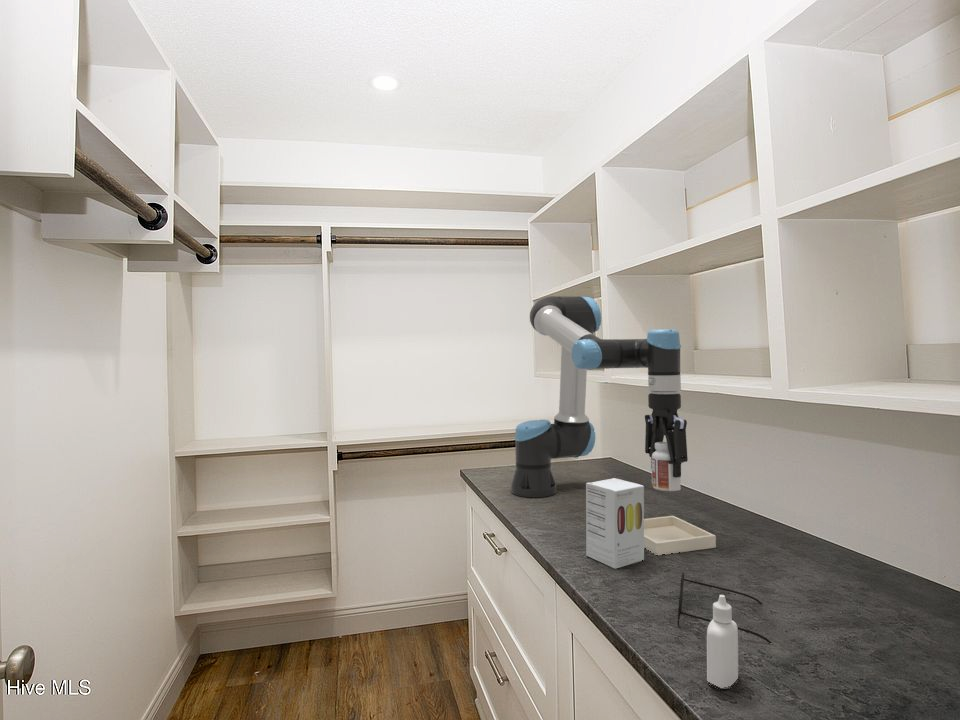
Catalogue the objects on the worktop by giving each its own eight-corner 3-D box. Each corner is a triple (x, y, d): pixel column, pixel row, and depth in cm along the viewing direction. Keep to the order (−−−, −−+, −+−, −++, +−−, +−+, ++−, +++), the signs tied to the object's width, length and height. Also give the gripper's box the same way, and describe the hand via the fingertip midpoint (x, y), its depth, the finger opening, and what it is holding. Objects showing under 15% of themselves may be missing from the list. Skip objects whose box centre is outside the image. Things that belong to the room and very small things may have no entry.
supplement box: (615, 570, 113) (614, 491, 113) (584, 556, 121) (584, 482, 121) (645, 560, 118) (645, 484, 118) (614, 547, 126) (614, 476, 126)
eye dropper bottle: (695, 674, 77) (694, 591, 76) (729, 667, 78) (728, 586, 78) (716, 693, 72) (715, 605, 72) (751, 686, 74) (750, 600, 73)
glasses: (679, 594, 103) (682, 569, 102) (765, 616, 97) (769, 590, 97) (676, 630, 89) (679, 602, 89) (776, 659, 84) (780, 629, 83)
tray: (619, 532, 136) (619, 521, 136) (673, 526, 140) (673, 515, 140) (656, 555, 120) (656, 543, 120) (715, 547, 125) (715, 535, 125)
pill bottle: (684, 489, 129) (683, 443, 129) (668, 493, 126) (667, 446, 125) (663, 484, 134) (662, 440, 134) (647, 487, 131) (646, 442, 131)
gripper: (629, 390, 138) (630, 479, 138) (675, 395, 119) (677, 498, 120) (654, 389, 140) (655, 477, 140) (704, 394, 121) (705, 495, 122)
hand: (665, 486), depth 130 cm, fingers closed on pill bottle, 6 cm apart
